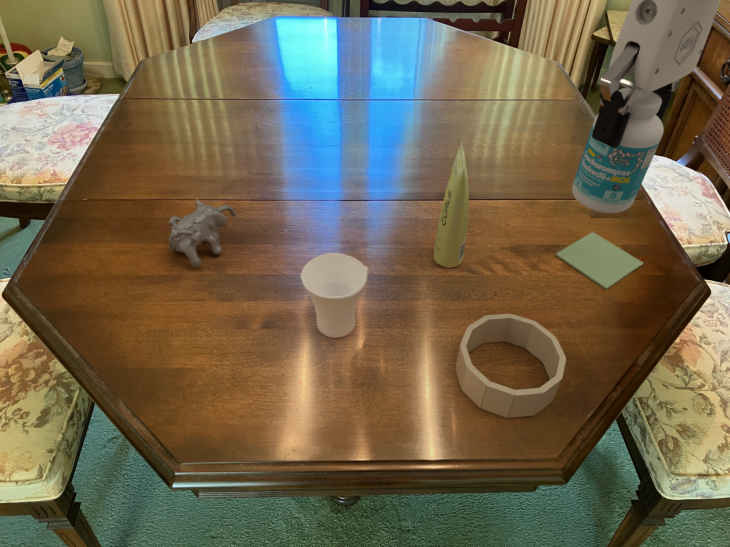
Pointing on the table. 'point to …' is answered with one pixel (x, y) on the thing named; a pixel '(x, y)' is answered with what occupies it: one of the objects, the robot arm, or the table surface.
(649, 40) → the robot arm
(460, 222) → the tube
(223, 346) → the table surface
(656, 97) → the pill bottle
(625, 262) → the mat
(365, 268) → the cup
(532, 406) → the polygonal ring band
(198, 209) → the elephant statuette
